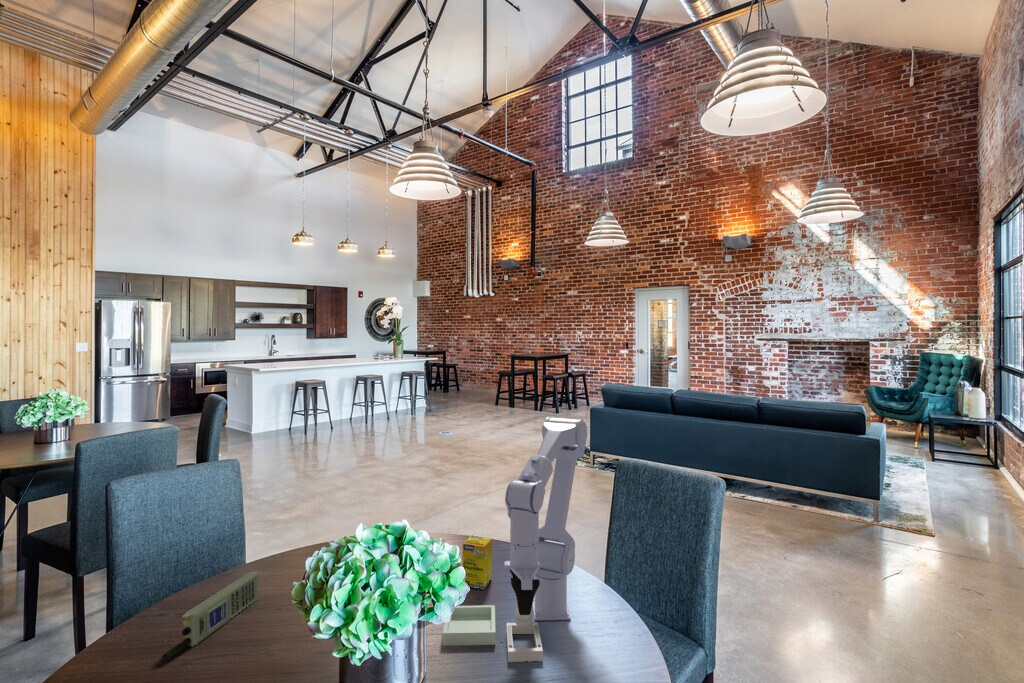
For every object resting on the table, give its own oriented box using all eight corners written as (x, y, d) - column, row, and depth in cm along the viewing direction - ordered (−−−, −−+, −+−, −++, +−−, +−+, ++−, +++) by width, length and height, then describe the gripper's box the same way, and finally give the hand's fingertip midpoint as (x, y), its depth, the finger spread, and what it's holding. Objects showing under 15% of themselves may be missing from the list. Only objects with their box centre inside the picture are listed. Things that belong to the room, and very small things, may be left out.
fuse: (514, 617, 104) (514, 583, 104) (532, 616, 104) (532, 582, 104) (515, 627, 100) (515, 591, 100) (533, 626, 100) (533, 591, 100)
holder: (506, 632, 107) (506, 621, 107) (537, 631, 107) (537, 620, 107) (508, 662, 97) (508, 650, 97) (542, 661, 97) (542, 649, 97)
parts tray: (447, 617, 113) (447, 606, 113) (494, 616, 113) (494, 605, 113) (442, 645, 102) (442, 633, 102) (495, 644, 102) (495, 632, 102)
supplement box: (461, 587, 127) (462, 543, 127) (470, 576, 132) (470, 534, 132) (484, 590, 125) (484, 546, 125) (492, 580, 130) (492, 537, 131)
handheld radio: (260, 600, 120) (172, 665, 96) (248, 599, 121) (157, 664, 96) (260, 571, 120) (171, 629, 96) (247, 571, 121) (156, 628, 96)
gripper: (503, 528, 109) (503, 591, 109) (505, 556, 95) (505, 629, 95) (536, 527, 109) (535, 590, 109) (543, 556, 95) (542, 628, 95)
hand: (524, 608), depth 102 cm, fingers closed on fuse, 3 cm apart
